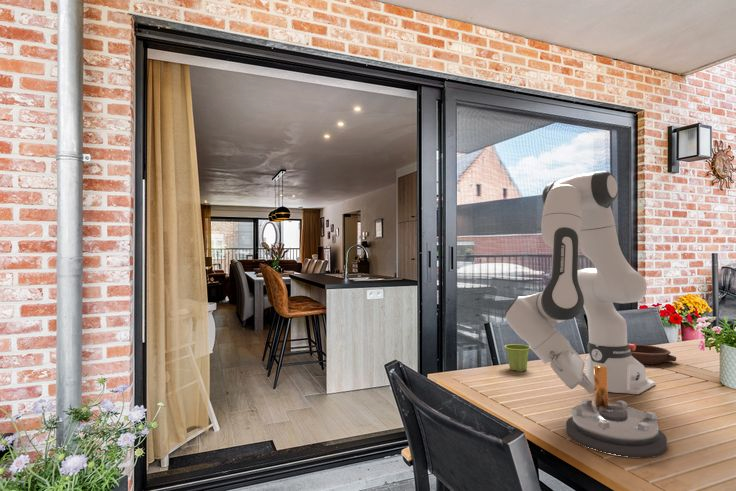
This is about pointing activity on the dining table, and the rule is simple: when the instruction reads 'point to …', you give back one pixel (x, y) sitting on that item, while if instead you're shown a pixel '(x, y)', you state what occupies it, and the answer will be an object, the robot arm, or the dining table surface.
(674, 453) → the dining table surface
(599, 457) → the dining table surface
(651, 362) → the dish
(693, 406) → the dining table surface
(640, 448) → the base plate
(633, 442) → the round lugged disc
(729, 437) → the dining table surface
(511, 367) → the plant pot
